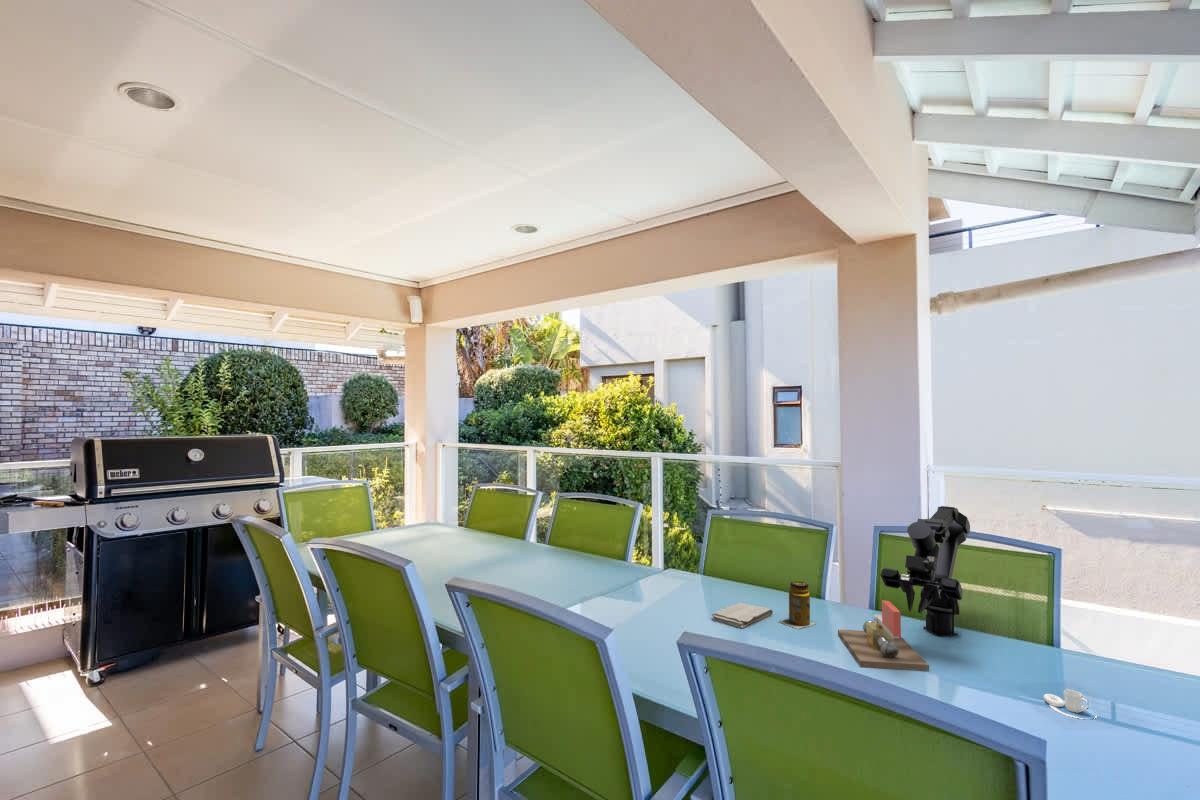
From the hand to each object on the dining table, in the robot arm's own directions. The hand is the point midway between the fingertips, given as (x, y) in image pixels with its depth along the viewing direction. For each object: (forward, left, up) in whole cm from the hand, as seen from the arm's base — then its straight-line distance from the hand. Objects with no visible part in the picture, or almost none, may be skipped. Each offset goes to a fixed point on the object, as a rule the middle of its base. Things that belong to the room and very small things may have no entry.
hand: (914, 611), depth 151 cm
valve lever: (+8, +1, -4) cm, 9 cm away
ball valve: (+7, -5, -10) cm, 13 cm away
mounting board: (+7, -5, -12) cm, 14 cm away
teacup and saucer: (-18, +27, -13) cm, 34 cm away
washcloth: (+34, -35, -13) cm, 50 cm away
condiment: (+19, -28, -12) cm, 36 cm away
